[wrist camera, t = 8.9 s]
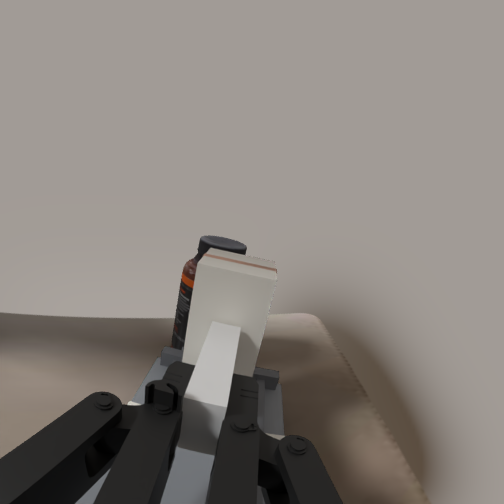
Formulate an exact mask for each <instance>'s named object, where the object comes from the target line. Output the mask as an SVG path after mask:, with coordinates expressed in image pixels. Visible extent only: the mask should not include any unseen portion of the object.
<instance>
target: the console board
mask: <svg viewBox="0 0 504 504" xmlns="http://www.w3.org/2000/svg"><path fill="white" fill-rule="evenodd" d="M183 352H184V351H182V350H178V349H174V348H171V347H167V346H165V347H164V349H163V350H162V352H161V358H160V357H157V359H156V361H155V362H154V364H153V366H152V367H151V369H150V371H149V372H148V374H147V376H146V377H145V379H144V381H143V382H142V384H141V386H140V388H139V389H138V391H137V393H136V394H135V396H134V398H133V399H132V401H129V403H128V404H127V405H142V404H144V402H145V386H146V385H147V384H148V383H149V382H151V381H154V380H162V379H163V376H164V374H165V372H166V370H167V368H168V366H169V365H170V364H172V363H174V362H175V361H180V362H182V359H183ZM252 377H254V378H255V379H256V381H257V383H258V384H259V392H258V416H257V422H258V425H259V428H260V429H261V430H262V431H263V432H264V433H265V434H267V435H269V436H271V437H273V438H276V439H279V440H281V439H282V438H283V437H285V436H284V422H283V406H282V390H281V384H277V383H278V380H279V371H275V370H269V369H264V368H258V367H255V369H254V373H253V376H252ZM177 446H178V444H177ZM214 457H215V456H213V455H208V454H204V453H199V452H195V451H191V450H187V449H183V448H179V447H176V451H175V458H174V461H173V464H172V468H171V471H170V474H169V477H168V480H167V483H166V487H165V490H164V493H163V496H162V499H161V502H160V504H205V501H206V496H207V491H208V486H209V481H210V474H211V469H212V465H213V461H214ZM110 469H111V468H110ZM110 469H109V470H108V471H107V472H106V473H105V474H104V475H103V476H102V477H101V478H100V479H99V480H98V481H97V482H96V483H95V484H94V485H93V486H92V487H91V488H90V489H89V490H88V491H87V492H86V493H85V494H84V495H83V496H82V497H81V498H80V499H79V500H78V501H77V502H76V503H75V504H93V503H94V501H95V499H96V497H97V495H98V493H99V491H100V489H101V487H102V485H103V483H104V481H105V479H106V477H107V475H108V473H109V471H110ZM257 504H265V501H264V498H263V494H262V491H261V487H260V486H258V485H257Z"/></svg>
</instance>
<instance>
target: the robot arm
mask: <svg viewBox="0 0 504 504" xmlns="http://www.w3.org/2000/svg"><path fill="white" fill-rule="evenodd" d="M240 330H241V327H237V326H232V325H227V324H223V323H219V322H214V321H212V324H211V326H210V329H209V332H208V334H207V337H206V339H205V342H204V345H203V347H202V350H201V353H200V355H199V358H198V360H197V363H196V365H192V364H188V363H184V362H180V361H175V362H174V363H172V364H170V365H169V366H168V368H167V370H166V372H165V374H164V376H163V379H162V380H154V381H151V382H149V383H148V384H147V385H146V386H145V402H144V404H142V405H123V404H122V403H121V401H120V399H119V398H118V397H117V396H115V395H114V394H111V393H109V392H95V393H93V394H91V395H89V396H88V397H86V398H85V399H84V400H82V401H81V402H79V403H78V404H77V405H75V406H74V407H73V408H71V409H70V410H68V411H67V412H66V413H64V414H63V415H61V416H60V417H59V418H57V419H56V420H54V421H53V422H52V423H50V424H49V425H47V426H46V427H45V428H43V429H42V430H40V431H39V432H38V433H36V434H35V435H33V436H32V437H31V438H29V439H28V440H26V441H25V442H24V443H22V444H21V445H19V446H18V447H16V448H15V449H14V450H12V451H11V452H9V453H8V454H6V455H5V456H4V457H2V458H1V459H0V504H75V503H76V502H77V501H78V500H79V499H80V498H81V497H82V496H83V495H84V494H85V493H86V492H87V491H88V490H89V489H90V488H91V487H92V486H93V485H94V484H95V483H96V482H97V481H98V480H99V479H100V478H101V477H102V476H103V475H104V474H105V473H106V472H107V471H108V470H109V469H110V468H111V469H110V471H109V473H108V475H107V477H106V479H105V481H104V483H103V485H102V487H101V489H100V491H99V493H98V495H97V497H96V499H95V501H94V503H93V504H160V502H161V499H162V496H163V493H164V490H165V487H166V483H167V480H168V477H169V474H170V471H171V468H172V464H173V461H174V458H175V451H176V447H179V448H183V449H187V450H191V451H195V452H199V453H204V454H208V455H213V456H215V457H214V461H213V465H212V469H211V474H210V481H209V486H208V491H207V496H206V501H205V504H257V485H258V486H260V487H261V491H262V494H263V498H264V501H265V504H343V503H342V501H341V499H340V497H339V495H338V493H337V491H336V489H335V487H334V485H333V483H332V481H331V479H330V477H329V475H328V473H327V471H326V469H325V467H324V465H323V463H322V461H321V459H320V457H319V455H318V453H317V451H316V449H315V447H314V445H313V444H312V443H311V442H310V441H309V440H307V439H306V438H304V437H301V436H296V435H289V436H285V437H283V438H282V439H281V440H279V439H276V438H273V437H271V436H269V435H267V434H265V433H264V432H263V431H262V430H261V429H260V428H259V425H258V422H257V416H258V392H259V384H258V383H257V381H256V379H255V378H254V377H249V376H244V375H239V374H234V373H233V370H234V364H235V359H236V353H237V347H238V341H239V336H240ZM177 444H178V446H177Z"/></svg>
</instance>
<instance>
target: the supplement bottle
mask: <svg viewBox="0 0 504 504" xmlns="http://www.w3.org/2000/svg"><path fill="white" fill-rule="evenodd" d="M210 248H214V249H219V250H224V251H228V252H233V253H237V254H242V255H245V253H246V249H247V247H246V245H244V244H243V243H240V242H238V241H235V240H231V239H228V238H224V237H217V236H202V237H201V238H200V242H199V247H198V254H197V255H196V256H195V257H194V258H193V259H191V260H189V261H188V262H187V263H186V264H185V266H184V269H183V272H182V279H181V283H180V290H179V296H178V304H177V309H176V316H175V323H174V330H173V336H172V347H171V348H174V349H178V350H182V351H184V344H185V338H186V331H187V324H188V318H189V311H190V305H191V299H192V292H193V286H194V280H195V274H196V269H197V263H198V262H199V261H200V260H201V258H202V257H203V255H204V254H205V253H207V251H208V250H209V249H210Z"/></svg>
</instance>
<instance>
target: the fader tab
mask: <svg viewBox="0 0 504 504" xmlns="http://www.w3.org/2000/svg"><path fill="white" fill-rule="evenodd" d="M276 273H277V269H276V268H275V262H274V261H270V260H265V259H260V258H256V257H251V256H246V255H242V254H237V253H233V252H228V251H224V250H219V249H214V248H210V249H209V250H208V251H207V253H205V254H204V255H203V257H202V258H201V260H200V261H199V262H198V263H197V269H196V274H195V280H194V286H193V292H192V299H191V305H190V311H189V318H188V324H187V331H186V338H185V344H184V352H183V359H182V362H184V363H188V364H192V365H196V363H197V360H198V358H199V355H200V353H201V350H202V347H203V345H204V342H205V339H206V337H207V334H208V332H209V329H210V326H211V324H212V321H214V322H219V323H223V324H227V325H232V326H237V327H241V330H240V336H239V341H238V347H237V353H236V359H235V364H234V370H233V373H234V374H239V375H244V376H249V377H252V376H253V373H254V369H255V365H256V361H257V358H258V354H259V350H260V346H261V342H262V338H263V335H264V331H265V327H266V323H267V319H268V315H269V311H270V307H271V303H272V299H273V295H274V290H275V287H276V282H277V276H276Z"/></svg>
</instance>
